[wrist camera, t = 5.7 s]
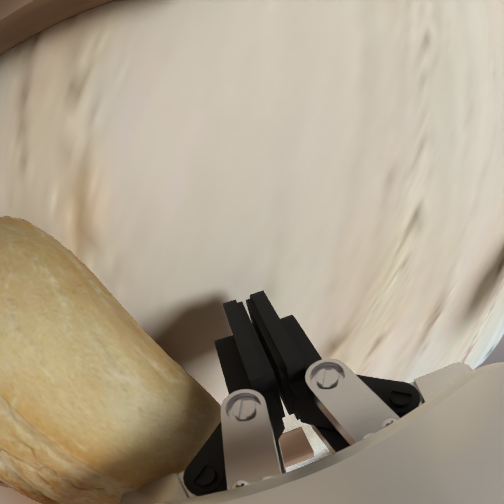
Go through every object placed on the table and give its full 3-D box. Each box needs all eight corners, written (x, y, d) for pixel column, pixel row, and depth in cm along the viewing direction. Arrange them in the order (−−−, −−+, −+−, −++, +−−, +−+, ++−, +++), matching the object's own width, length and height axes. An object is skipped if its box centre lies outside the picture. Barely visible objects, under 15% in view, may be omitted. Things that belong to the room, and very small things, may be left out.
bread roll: (135, 439, 15) (147, 544, 8) (-52, 286, 8) (-124, 396, 1) (255, 380, 15) (309, 506, 8) (47, 147, 8) (-129, 223, 1)
